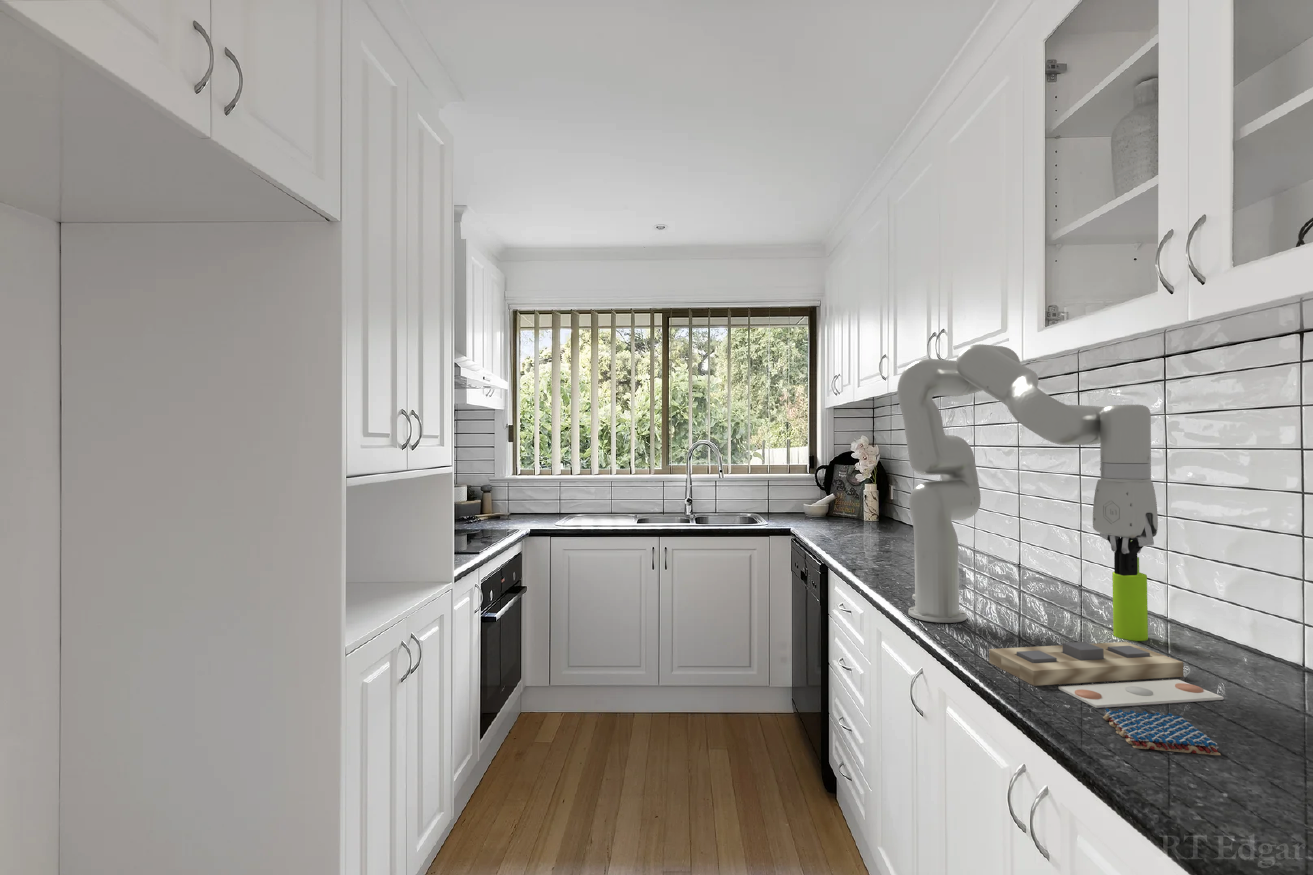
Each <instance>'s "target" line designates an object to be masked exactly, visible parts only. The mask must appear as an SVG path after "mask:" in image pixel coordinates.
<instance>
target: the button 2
mask: <svg viewBox="0 0 1313 875" xmlns="http://www.w3.org/2000/svg"><path fill="white" fill-rule="evenodd" d="M1092 644H1093V643H1089V642H1087V641H1075V642H1073V641H1072V642H1071V641H1070V642H1062V645H1063V653H1064V654H1066V655H1069V656H1071V657H1073V658H1076V659H1078V660H1080V661H1082V660H1100V659H1104V650H1103V649H1102V648H1100V647H1097V646H1095V645H1092Z"/></svg>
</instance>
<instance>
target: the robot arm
mask: <svg viewBox="0 0 1313 875" xmlns="http://www.w3.org/2000/svg"><path fill="white" fill-rule="evenodd" d="M1038 385H1039V376H1038V374H1037V373H1036V371H1034V370H1033V369H1031V368H1029V367H1026V366H1025V365H1023V364H1021V360H1020V357H1019V355H1017V353H1016V352H1015V351H1014V350H1012V349H1011V348H1009V347H1006V346H1002V345H992V344H983V343H982V344H981V343H980V344H973V345H969V346H968V347H965V348H964V349H962V350H961V352H960V353H959V354H958V356H957V358H956V360H949V359H939V358H938V359H937V358H925V359H919V360H916V361H914V362H912V363H911V364H909V365H907V367H906V368H904V370H903V371H902V373H901V374H900V377H899V379H898V383H897V391H896V392H897V400H898V404H899V408H900V411H901V414H902V419H903V424H904V431H905V432H904V433H905V439H906V440H905V441H906V446H907V454H908V458H909V463H910V466H911V468H912V471H914V472H915V473H917V474H919V475H922V476H940V479H941V480H940V479H939V480H929V481H925V482H921V483H919V484H917V485H916V486H915V487H914V488H913V490H912V491H911V492H910V495H909V498H908V506H909V512H910V516H911V520H912V528H913V546H914V548H913V549H914V553H913V554H914V593H913V594H912V595H911V598H912V600H914V601H915V602H914V606H911V607H909V608H908V610H907V611H908V612H907V613H908V615H909V616H910V617H912V618H914V619H916V620H920V621H924V622H930V623H938V624H952V623H953V624H954V623H961V622H964V621H966V620H967V619H968V615H967V612H965V611H963V610H962V609H960V571H959V568H960V567H959V564H960V563H959V540H958V535H957V532H956V529H955V527H954V525H953V521H959V520H966V519H969V518H973V516H975V515H976V514H977V513H978V511H979V510H980V509H979V508H980V507H981V489H980V483H979V478H978V472H977V470H978V469H977V465H976V464H977V463H976V460H975V455H974V451H973V449H972V448H971V446H970V444H969V443H968V442H967V441H966V440H965V439H964V438H962V437H961V436H957V435H952V434H951V435H949V434H946V433H945V429H944V424H943V417H942V414H941V411H940V409H939V407H938V405H936V403H935V401H934V400H933V398H934V396H938V397H962V396H968V395H971V394H977V393H979V392H982V391H983V392H985V393H986V394H988V395H989V396H991V397H993V398H994V399H995V400H997V401H999V402H1000V403H1002V404H1003V405H1005V406H1006V407H1007V409H1008V412H1010V414H1011V416H1012V417H1013V418H1014V419H1015V420H1016V421H1017V422H1018V423H1019V424H1020V425H1022V426H1024V427H1025V428H1027V429H1028V430H1029V431H1031V432H1033V433H1034V434H1035V435H1037V436H1039V437H1041V438H1043V439H1044V440H1045V441H1047V442H1050V443H1053V444H1056V445H1060V446H1073V445H1075V446H1076V445H1079V446H1085V445H1087V446H1088V445H1090V446H1091V445H1098V444H1099V447H1100V448H1099V449H1100V450H1099V451H1100V452H1099V455H1100V458H1099V459H1100V461H1099V462H1100V466H1099V467H1100V468H1099V470H1100V479H1097V482H1096V486H1095V489H1094V496H1093V507H1092V528H1093V530H1094V531H1095V532H1097V533H1099V536H1100V538H1102V539H1104V540H1106V541H1108V542H1109V544H1110V548H1111V551H1112V552H1113V554H1114V559H1113V560H1114V567H1113V568H1114V571H1113V572H1115V574H1118V575H1122V576H1130V575H1137V573H1138V572H1137V557H1138V554H1140V553H1141V552H1142V549H1143V548H1144V547H1151V546H1154V545H1155V542H1154V537H1156V536H1157V533H1158V530H1159V529H1158V528H1159V527H1158V526H1159V522H1158V521H1159V520H1158V518H1159V516H1158V513H1159V512H1158V505H1157V496H1156V491H1155V486H1154V482H1153V481H1152V425H1151V424H1152V418H1151V417H1152V415H1151V410H1150V408H1149V407H1148V406H1147V405H1143V404H1114V405H1113V404H1112V405H1107V406H1097V405H1082V404H1066V403H1064V402H1062V401H1059V400H1057V399H1056V398H1054V397H1052V396H1051V395H1049V394H1047V393H1045V392H1044V391H1043V390H1041V389H1039V388H1038Z"/></svg>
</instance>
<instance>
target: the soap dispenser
mask: <svg viewBox="0 0 1313 875" xmlns="http://www.w3.org/2000/svg"><path fill="white" fill-rule="evenodd" d="M1137 572H1138V573H1137V575H1130V576H1122V575H1118V574H1115V572H1114V571H1113V572H1112V575H1111V576H1112V623H1113V624H1112V626H1113V627H1112V628H1113V629H1112V631H1113V636H1114V637H1115V638H1118V639H1121V640H1127V641H1133V642H1134V641H1135V642H1145V641H1148V639H1149V621H1148V620H1149V618H1148V617H1149V615H1148V614H1149V613H1148V610H1149V609H1148V575H1147V574H1145V573H1144V572H1143V573H1142V572H1140V557H1139V556H1137Z"/></svg>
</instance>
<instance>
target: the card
mask: <svg viewBox="0 0 1313 875" xmlns="http://www.w3.org/2000/svg"><path fill="white" fill-rule="evenodd" d="M1058 690H1060V691H1061V692H1063V693H1065V694H1066V695H1067V694H1068V695H1070V696H1071V697H1074V698H1075V699H1078V700H1080V701H1081V702H1083V703H1084V704H1087V705H1089V706H1091V707H1093V708H1095V709H1099V708H1100V709H1101V708H1114V707H1117V708H1118V707H1131V706H1147V705H1149V706H1150V705H1159V704H1160V705H1164V704H1177V703H1178V704H1179V703H1191V702H1192V703H1193V702H1205V701H1206V702H1207V701H1208V702H1209V701H1221V700H1223V701H1224V696H1222V695H1220V694H1216V693H1215V692H1212V691H1209V690H1207V689H1205V688H1203V687H1201V686H1198V685H1195V684H1191V683H1188V682H1185V681H1183V680H1181V679H1177V678H1176V679H1161V680H1160V679H1159V680H1146V681H1145V680H1144V681H1132V682H1131V681H1127V682H1115V683H1112V682H1111V683H1095V684H1082V685H1081V684H1080V685H1079V684H1078V685H1066V686H1065V685H1064V686H1058Z"/></svg>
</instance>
